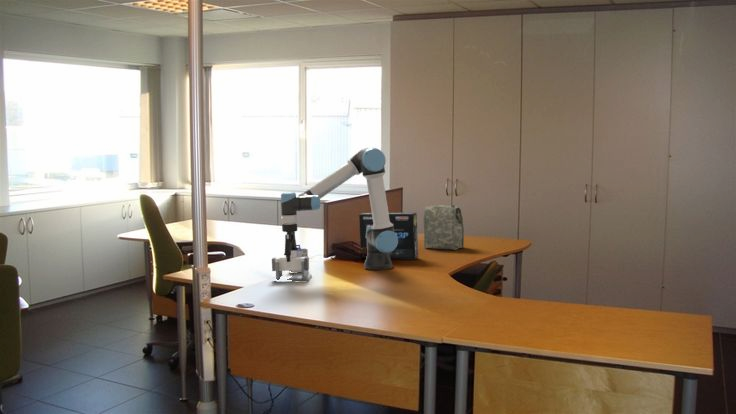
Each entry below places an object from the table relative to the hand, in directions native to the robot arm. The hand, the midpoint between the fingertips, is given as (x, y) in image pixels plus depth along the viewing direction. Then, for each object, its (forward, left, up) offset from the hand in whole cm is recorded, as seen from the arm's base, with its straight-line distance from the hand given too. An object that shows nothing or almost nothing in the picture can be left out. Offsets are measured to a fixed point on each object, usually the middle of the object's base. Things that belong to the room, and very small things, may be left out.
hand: (291, 265), depth 343 cm
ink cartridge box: (0, -20, -7) cm, 21 cm away
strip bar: (0, 0, -2) cm, 2 cm away
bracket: (0, 0, -7) cm, 7 cm away
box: (-47, -57, -7) cm, 74 cm away
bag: (-80, -91, -7) cm, 121 cm away
